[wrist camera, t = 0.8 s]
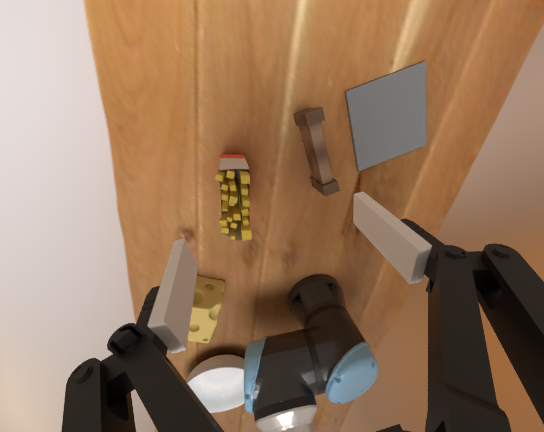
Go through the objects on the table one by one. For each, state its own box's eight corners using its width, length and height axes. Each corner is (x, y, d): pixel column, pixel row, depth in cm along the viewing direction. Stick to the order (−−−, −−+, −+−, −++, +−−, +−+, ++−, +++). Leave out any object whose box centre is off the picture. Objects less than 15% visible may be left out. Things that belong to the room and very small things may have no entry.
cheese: (225, 279, 54) (224, 312, 45) (211, 311, 58) (208, 347, 49) (182, 270, 51) (172, 302, 42) (170, 304, 54) (158, 341, 45)
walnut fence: (325, 180, 48) (339, 190, 42) (312, 185, 48) (324, 196, 42) (308, 108, 41) (322, 107, 35) (293, 114, 41) (304, 113, 35)
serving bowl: (193, 393, 70) (189, 420, 64) (180, 350, 62) (174, 376, 55) (257, 380, 73) (260, 404, 67) (254, 338, 65) (256, 361, 58)
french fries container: (222, 205, 46) (218, 253, 30) (219, 152, 42) (212, 174, 26) (244, 204, 47) (251, 251, 31) (243, 152, 42) (252, 174, 26)
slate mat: (424, 144, 48) (426, 145, 48) (357, 170, 48) (358, 171, 48) (423, 61, 41) (425, 60, 41) (344, 91, 41) (346, 91, 41)
